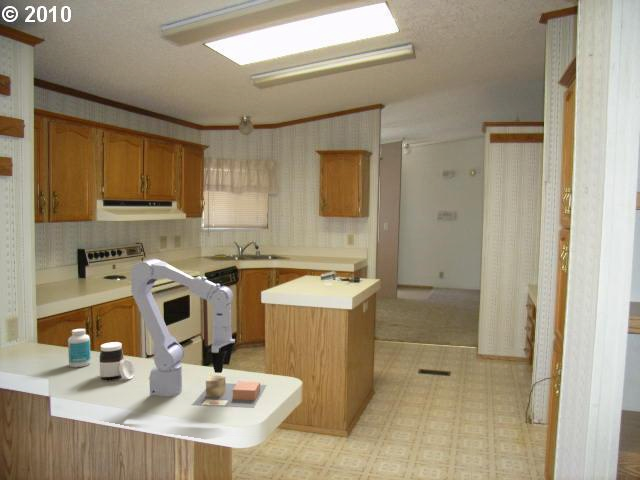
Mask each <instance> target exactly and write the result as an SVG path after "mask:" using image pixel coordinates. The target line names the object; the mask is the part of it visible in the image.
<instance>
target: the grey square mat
mask: <svg viewBox="0 0 640 480" xmlns="http://www.w3.org/2000/svg"><path fill="white" fill-rule="evenodd" d="M236 384H237V383H227V382H225V389H226V391H225V392H224V394H223V395H222V396H221V397H208V396H206V388H205V389H204V390H203V391H202V392H201V394H200V395H199V396H198V397H197V398H196V399H195V400H194V402H193V403H192V404H191V406H207V407H208V406H209V407H230V408H248V409H249V408H250V409H252V408H253V409H254V408H255V407H256V405H257V403H258V402H259V399H260V398H261V396H262V394H263V393H264V391H265V389H266V387H267V385H268V384H260V392H259V394H258V396H257V397H256V399H255V400H243V399H233V388H234V387H235V386H236Z"/></svg>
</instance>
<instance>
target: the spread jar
mask: <svg viewBox="0 0 640 480" xmlns="http://www.w3.org/2000/svg"><path fill="white" fill-rule="evenodd" d="M122 344H123V343H121V342H118V341H114V342H113V341H111V342H106V343H102V344H101V345H100V353H99V356H98V357H99V376H100V379H101V380H103V381H106V380H107V381H108V382H109V380H110V381H115V380H119V379H124V380H126V381H127V380H130V379H132V378H133V377H134V376H135V367H134V364H133V361H131V360H129V359H127V358H126V359H124V351H123V349H122V347H123V346H122Z"/></svg>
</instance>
